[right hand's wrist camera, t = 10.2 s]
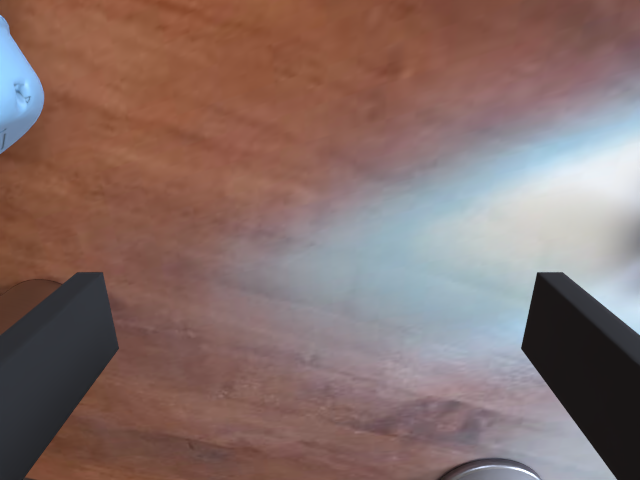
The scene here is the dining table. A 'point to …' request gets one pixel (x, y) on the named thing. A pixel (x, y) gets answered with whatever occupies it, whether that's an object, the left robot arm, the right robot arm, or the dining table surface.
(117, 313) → the dining table surface
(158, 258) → the dining table surface
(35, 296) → the jar
